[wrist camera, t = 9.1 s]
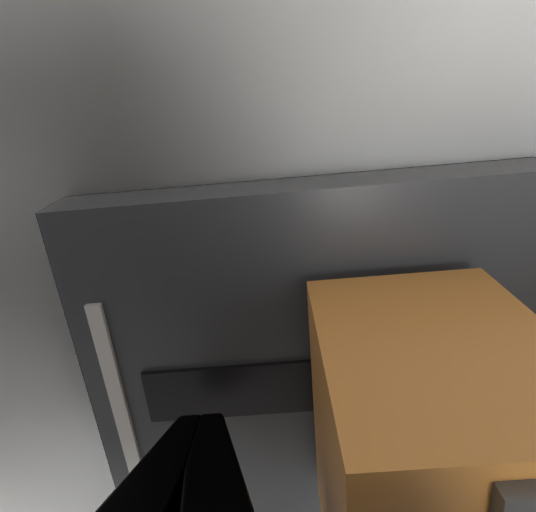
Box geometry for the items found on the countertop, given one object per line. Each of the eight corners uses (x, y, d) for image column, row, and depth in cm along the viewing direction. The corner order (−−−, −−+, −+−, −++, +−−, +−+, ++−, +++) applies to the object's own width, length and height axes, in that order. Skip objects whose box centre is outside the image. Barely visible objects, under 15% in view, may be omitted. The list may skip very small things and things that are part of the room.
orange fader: (481, 267, 7) (719, 471, 4) (458, 482, 9) (599, 772, 5) (306, 281, 8) (349, 493, 4) (318, 490, 9) (355, 783, 5)
